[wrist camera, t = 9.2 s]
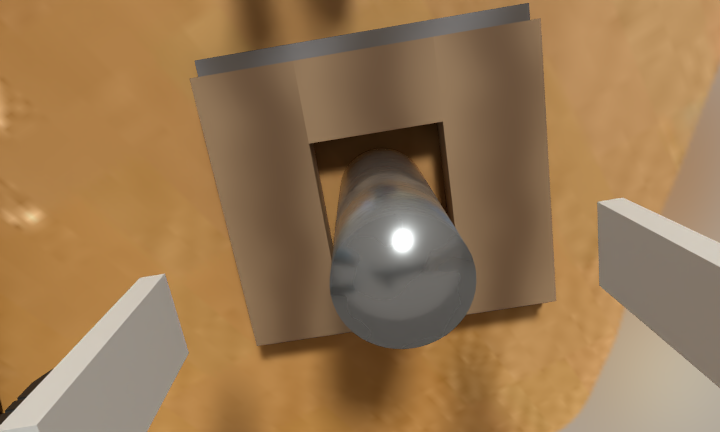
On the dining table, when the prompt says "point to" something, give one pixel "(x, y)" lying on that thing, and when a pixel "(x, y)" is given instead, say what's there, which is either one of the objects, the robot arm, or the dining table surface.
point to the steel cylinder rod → (397, 255)
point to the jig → (370, 115)
